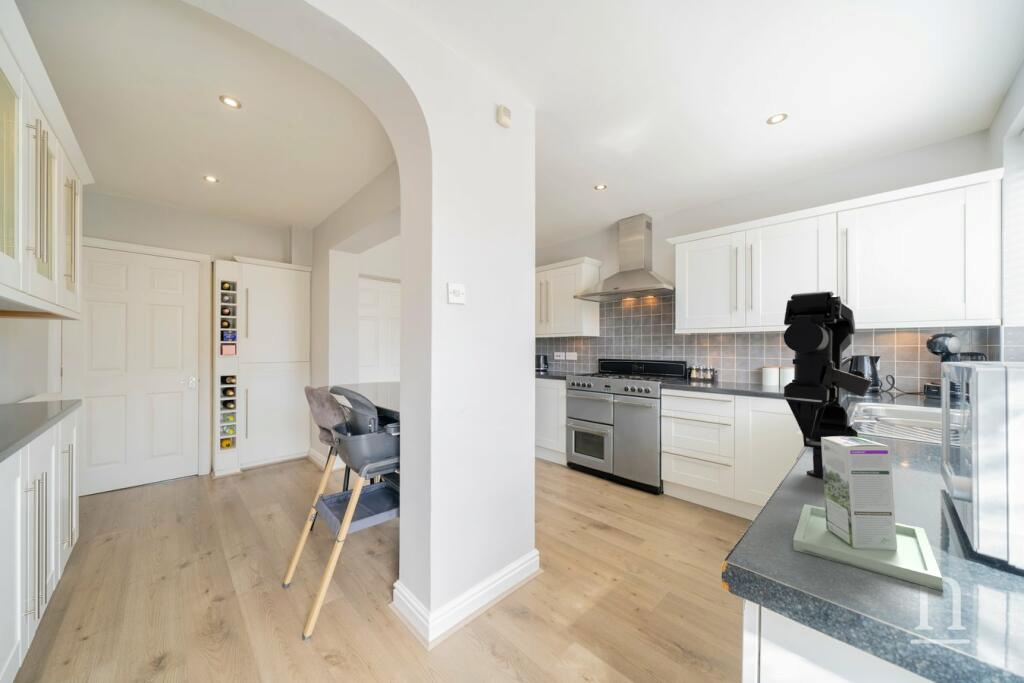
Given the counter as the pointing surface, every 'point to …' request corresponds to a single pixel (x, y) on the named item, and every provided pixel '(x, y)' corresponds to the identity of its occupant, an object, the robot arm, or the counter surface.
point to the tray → (903, 564)
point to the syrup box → (859, 492)
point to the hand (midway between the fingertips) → (810, 434)
